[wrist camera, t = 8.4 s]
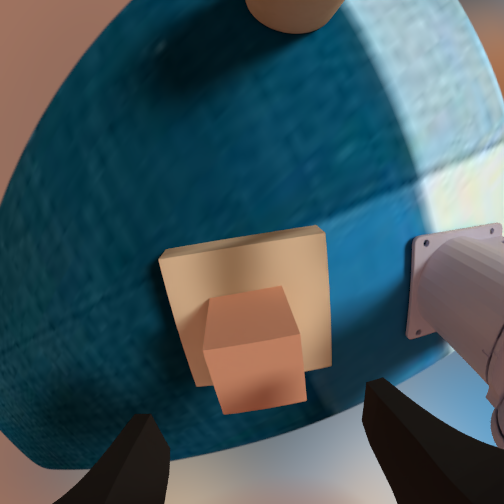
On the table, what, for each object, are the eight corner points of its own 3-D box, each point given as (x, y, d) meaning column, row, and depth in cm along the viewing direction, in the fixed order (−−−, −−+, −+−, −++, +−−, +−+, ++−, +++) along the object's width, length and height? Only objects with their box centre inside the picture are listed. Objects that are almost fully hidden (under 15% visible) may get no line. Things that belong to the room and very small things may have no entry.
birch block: (313, 223, 18) (325, 232, 16) (322, 345, 21) (331, 365, 19) (168, 246, 18) (158, 259, 16) (199, 364, 21) (196, 386, 19)
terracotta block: (281, 285, 17) (300, 333, 12) (289, 344, 18) (306, 400, 13) (209, 298, 17) (202, 350, 12) (224, 355, 18) (223, 414, 13)
